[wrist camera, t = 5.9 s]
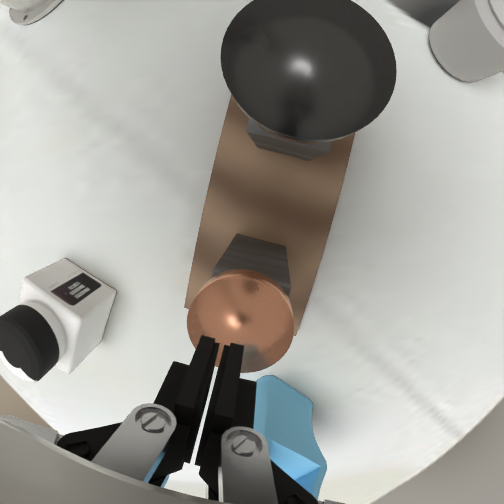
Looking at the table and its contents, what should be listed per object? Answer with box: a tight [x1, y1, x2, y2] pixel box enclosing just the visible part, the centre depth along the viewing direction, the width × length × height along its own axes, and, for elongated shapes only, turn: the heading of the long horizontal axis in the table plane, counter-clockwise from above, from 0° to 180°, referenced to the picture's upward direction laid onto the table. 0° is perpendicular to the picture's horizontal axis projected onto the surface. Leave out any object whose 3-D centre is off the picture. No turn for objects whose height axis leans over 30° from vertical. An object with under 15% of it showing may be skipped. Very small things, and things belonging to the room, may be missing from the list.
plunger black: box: [221, 0, 396, 144], centre depth 14 cm, size 6×6×12 cm
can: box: [429, 0, 504, 82], centre depth 17 cm, size 8×8×12 cm
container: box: [0, 259, 116, 382], centre depth 26 cm, size 8×8×13 cm
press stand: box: [184, 95, 355, 336], centre depth 22 cm, size 24×11×12 cm, turn 166°
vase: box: [253, 375, 327, 501], centre depth 24 cm, size 8×8×20 cm
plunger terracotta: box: [187, 269, 294, 373], centre depth 22 cm, size 6×6×12 cm
